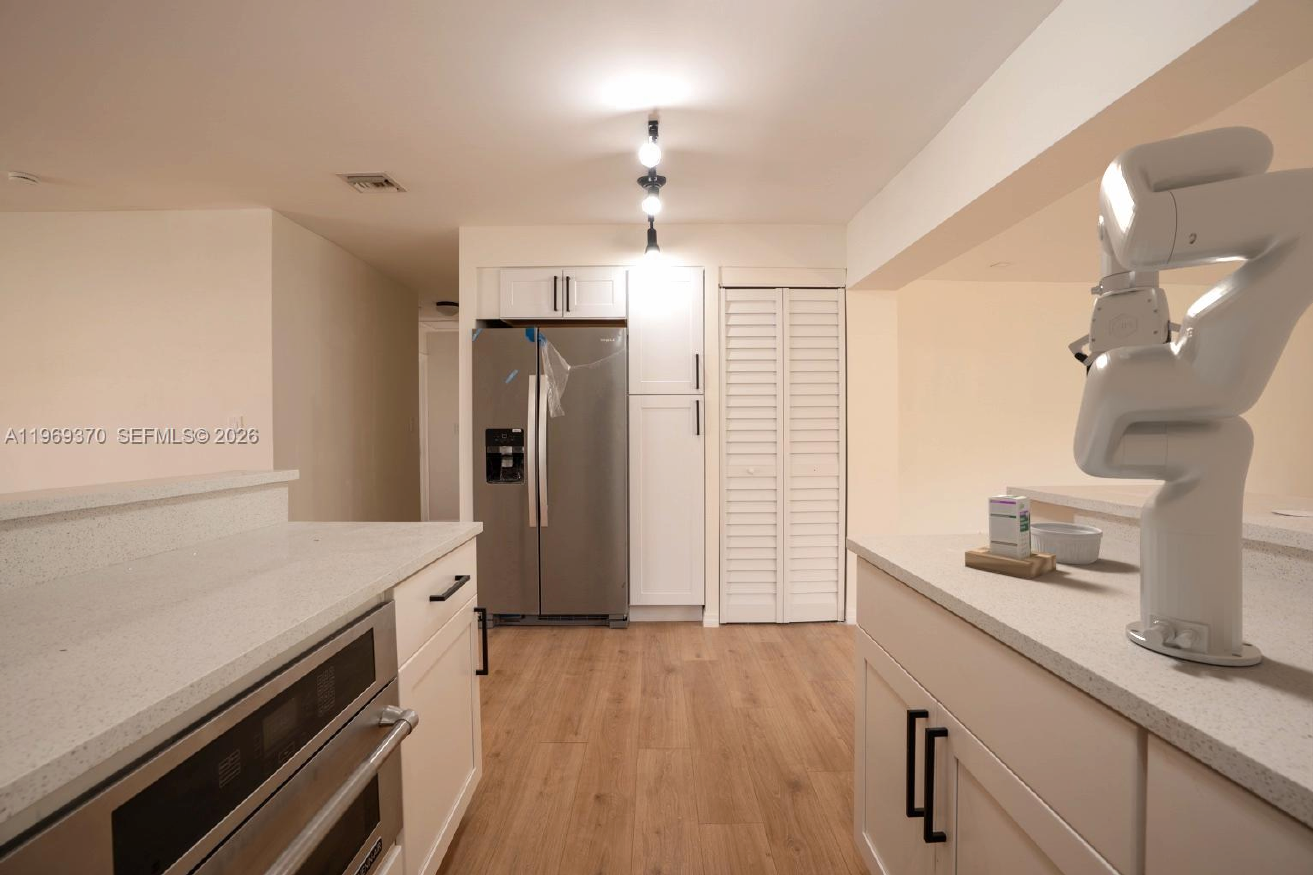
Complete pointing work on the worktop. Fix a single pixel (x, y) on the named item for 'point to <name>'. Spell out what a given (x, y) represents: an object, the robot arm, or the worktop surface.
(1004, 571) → the holder block
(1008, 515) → the syrup box
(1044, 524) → the ramekin
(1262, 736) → the worktop surface
